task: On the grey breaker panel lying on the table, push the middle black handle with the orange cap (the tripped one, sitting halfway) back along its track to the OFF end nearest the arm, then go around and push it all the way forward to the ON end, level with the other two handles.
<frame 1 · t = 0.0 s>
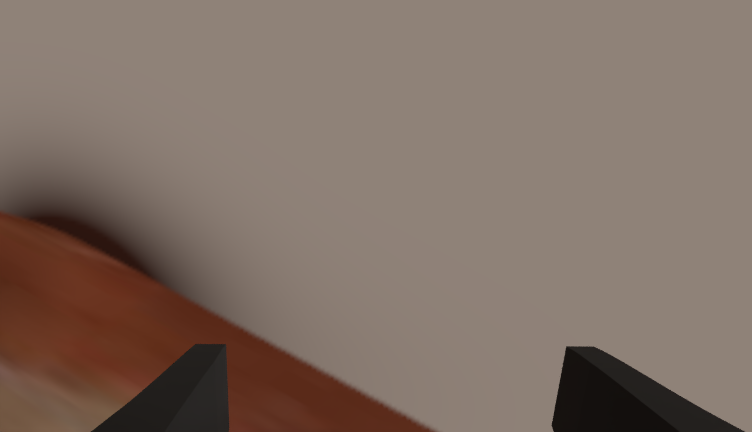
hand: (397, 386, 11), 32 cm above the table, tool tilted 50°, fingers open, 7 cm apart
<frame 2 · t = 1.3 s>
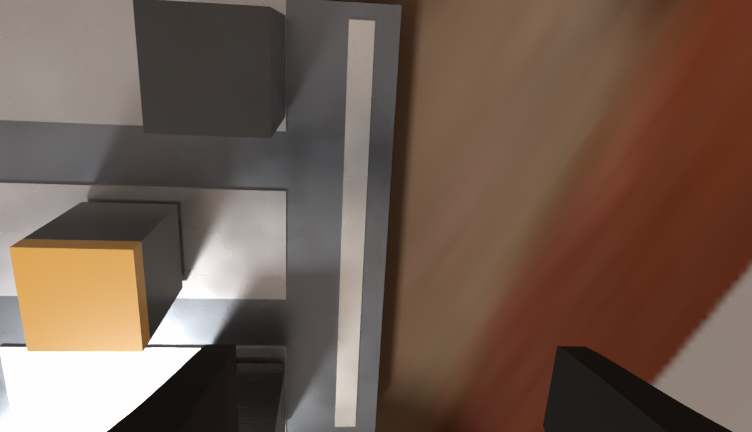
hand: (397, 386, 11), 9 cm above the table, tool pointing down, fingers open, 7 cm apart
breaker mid: (109, 270, 16), point 4 cm above the table, slide at 3.5 cm
panel: (151, 228, 19), on the table
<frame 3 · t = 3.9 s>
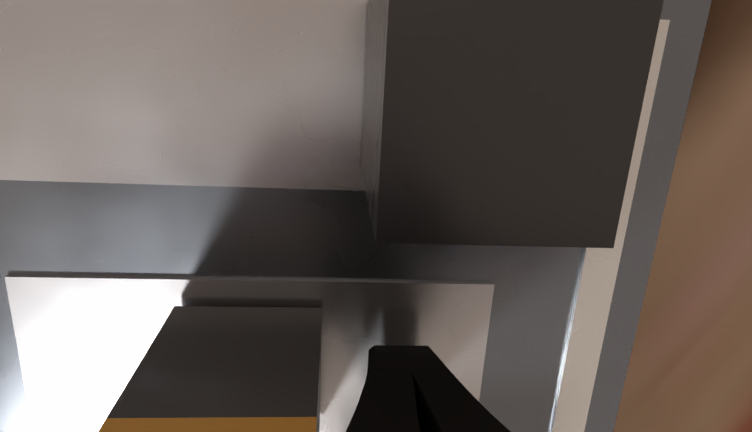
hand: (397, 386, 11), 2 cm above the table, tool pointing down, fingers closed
panel: (269, 326, 13), on the table
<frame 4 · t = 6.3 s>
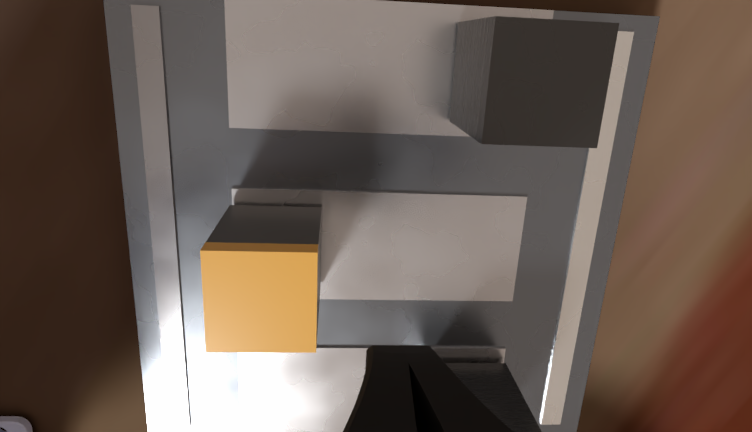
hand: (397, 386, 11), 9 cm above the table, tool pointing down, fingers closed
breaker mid: (269, 272, 16), point 4 cm above the table, slide at 0.0 cm
panel: (376, 232, 20), on the table
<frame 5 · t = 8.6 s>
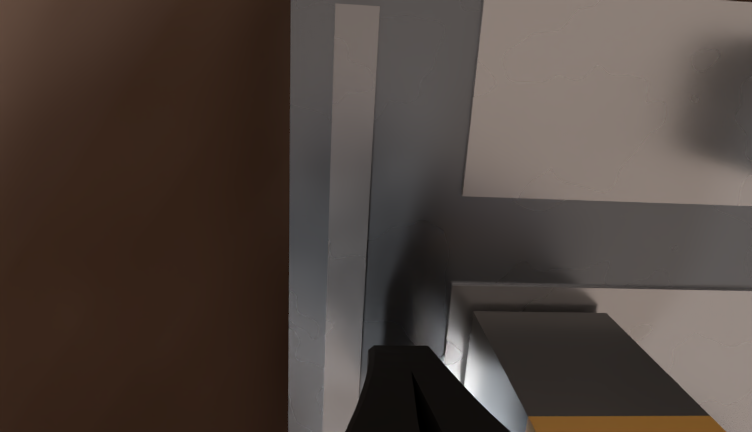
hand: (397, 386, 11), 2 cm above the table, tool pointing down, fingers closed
panel: (618, 331, 14), on the table
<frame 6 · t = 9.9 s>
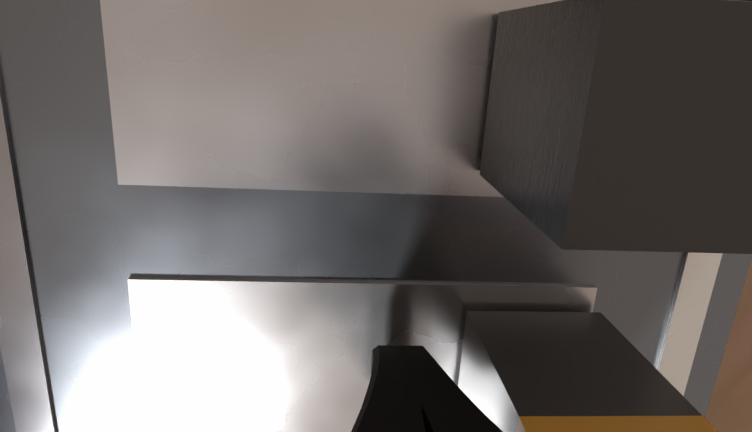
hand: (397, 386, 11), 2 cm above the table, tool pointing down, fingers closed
panel: (363, 328, 13), on the table
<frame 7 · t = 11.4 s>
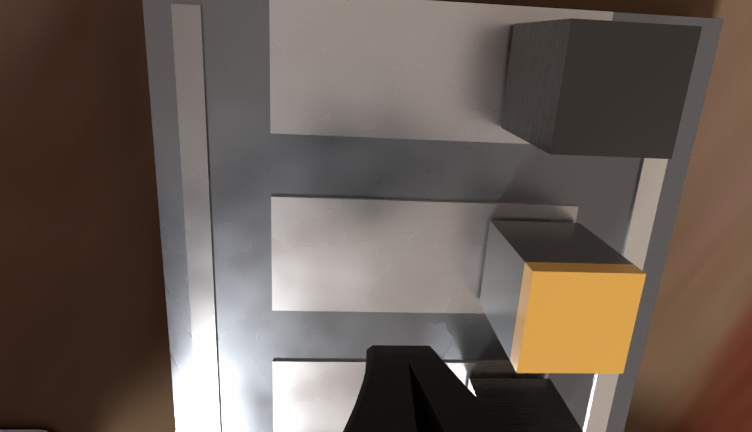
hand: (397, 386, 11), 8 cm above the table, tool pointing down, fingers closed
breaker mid: (551, 290, 16), point 4 cm above the table, slide at 7.0 cm
panel: (416, 241, 19), on the table
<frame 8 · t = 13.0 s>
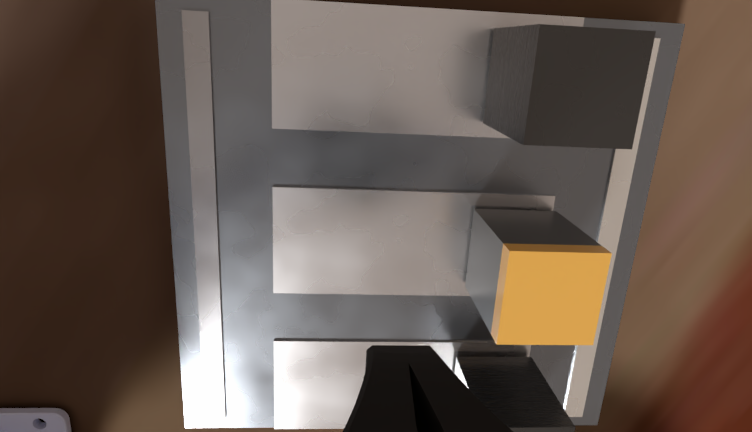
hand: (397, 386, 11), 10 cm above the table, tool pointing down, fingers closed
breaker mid: (529, 271, 17), point 4 cm above the table, slide at 7.0 cm
panel: (407, 230, 21), on the table
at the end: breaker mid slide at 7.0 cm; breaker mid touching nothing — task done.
